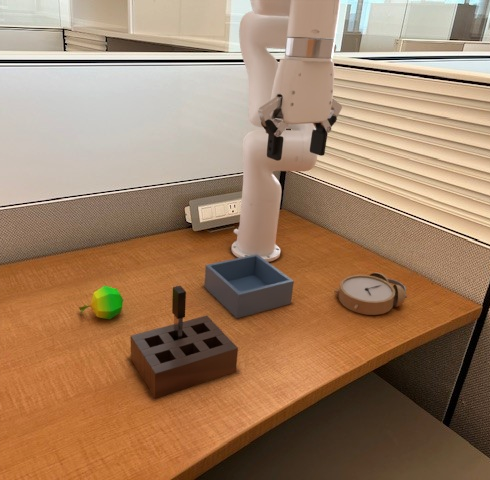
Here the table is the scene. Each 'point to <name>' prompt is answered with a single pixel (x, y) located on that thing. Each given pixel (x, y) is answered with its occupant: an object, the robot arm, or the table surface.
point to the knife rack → (183, 356)
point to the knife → (178, 310)
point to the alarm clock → (371, 293)
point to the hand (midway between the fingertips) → (295, 156)
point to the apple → (105, 302)
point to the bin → (248, 285)
